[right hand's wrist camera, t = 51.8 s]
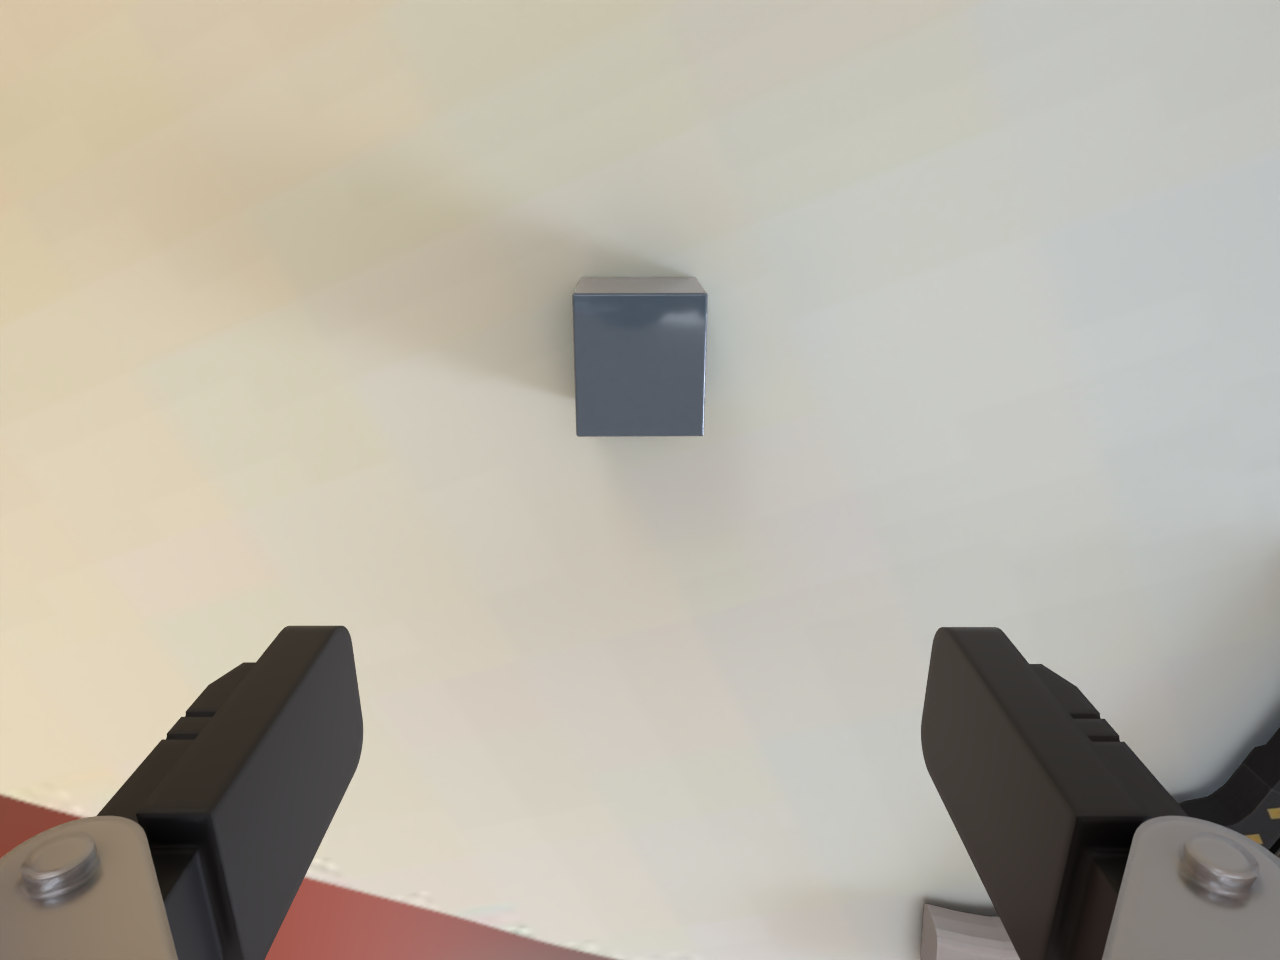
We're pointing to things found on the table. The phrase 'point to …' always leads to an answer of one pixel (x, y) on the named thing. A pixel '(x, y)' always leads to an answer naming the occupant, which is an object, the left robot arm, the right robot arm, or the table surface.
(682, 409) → the block
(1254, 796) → the decorative firearm
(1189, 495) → the table surface
